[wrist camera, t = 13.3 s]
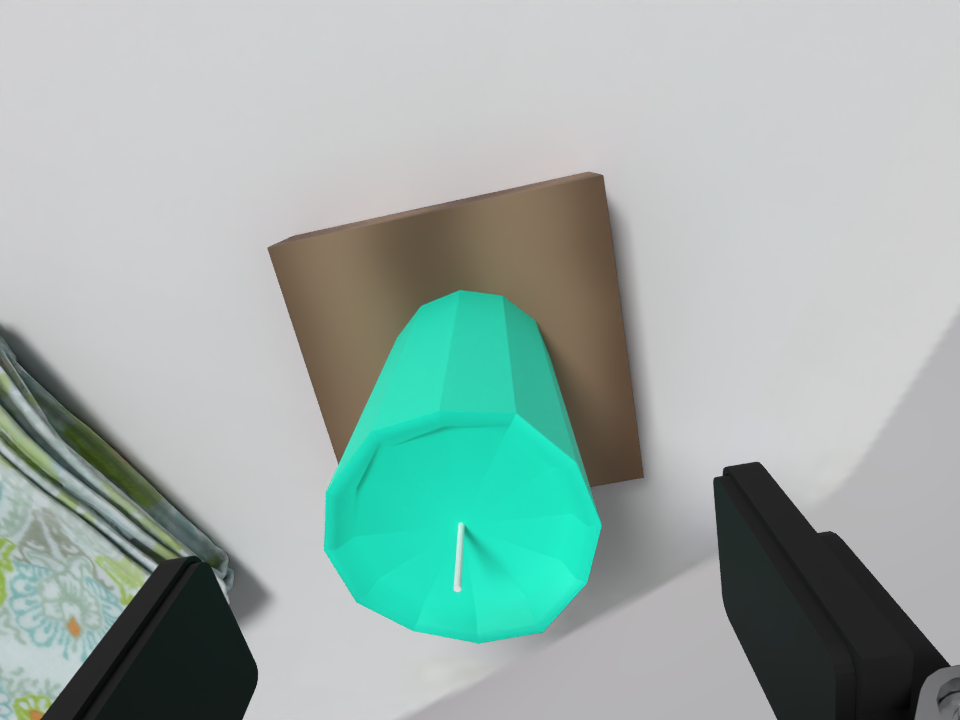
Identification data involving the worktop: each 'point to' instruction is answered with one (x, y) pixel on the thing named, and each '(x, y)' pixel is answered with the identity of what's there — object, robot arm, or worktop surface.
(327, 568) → the worktop surface
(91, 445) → the towel
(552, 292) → the walnut base
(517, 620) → the candle
